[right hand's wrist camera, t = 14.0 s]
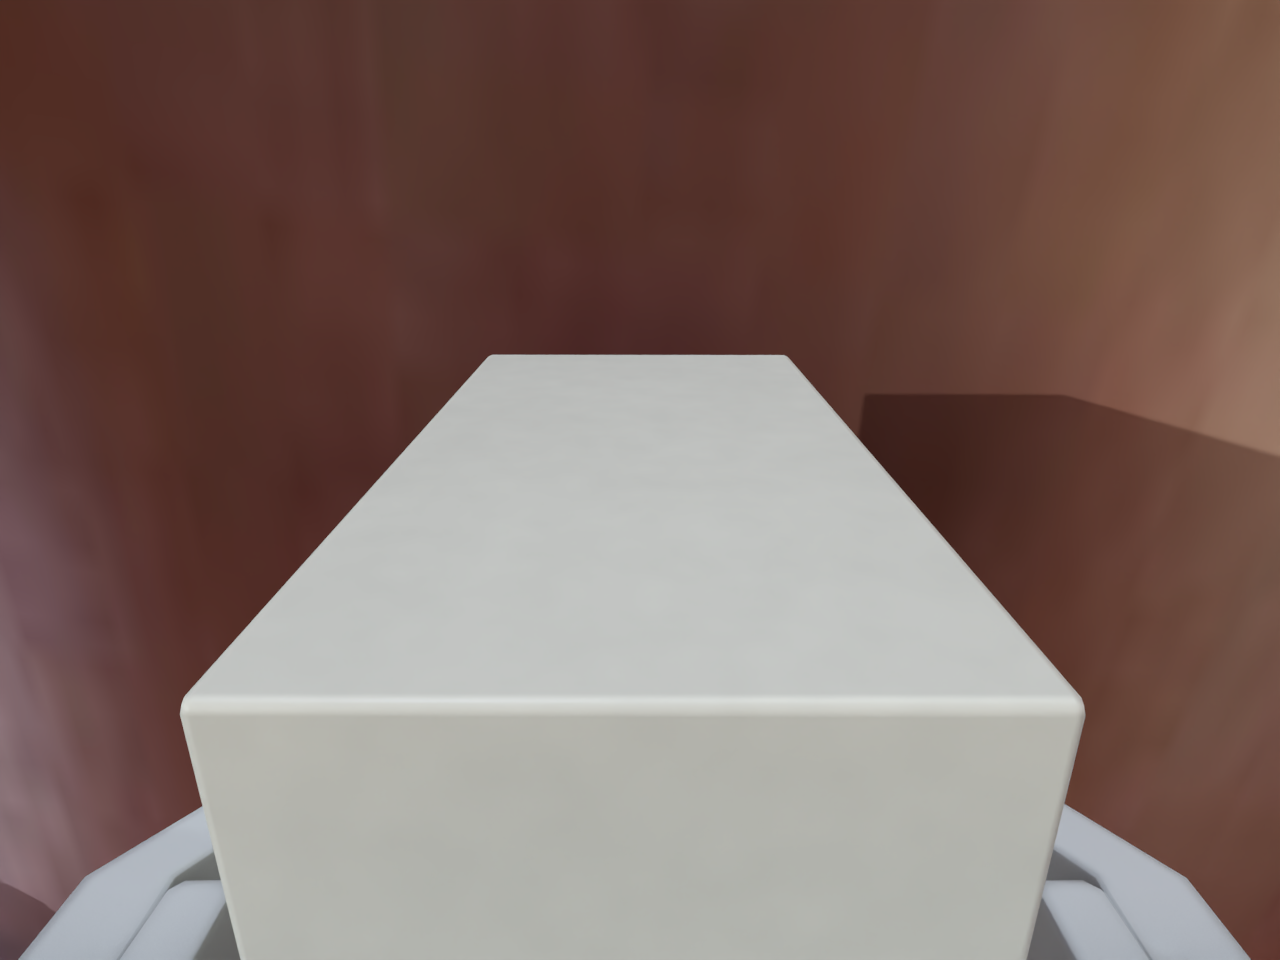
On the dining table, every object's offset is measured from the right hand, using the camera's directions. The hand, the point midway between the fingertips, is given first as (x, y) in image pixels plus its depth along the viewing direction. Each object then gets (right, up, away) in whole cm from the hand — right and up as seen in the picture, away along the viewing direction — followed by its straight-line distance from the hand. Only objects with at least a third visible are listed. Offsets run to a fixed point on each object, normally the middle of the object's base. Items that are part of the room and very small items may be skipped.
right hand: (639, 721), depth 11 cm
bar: (0, -7, +7) cm, 10 cm away
